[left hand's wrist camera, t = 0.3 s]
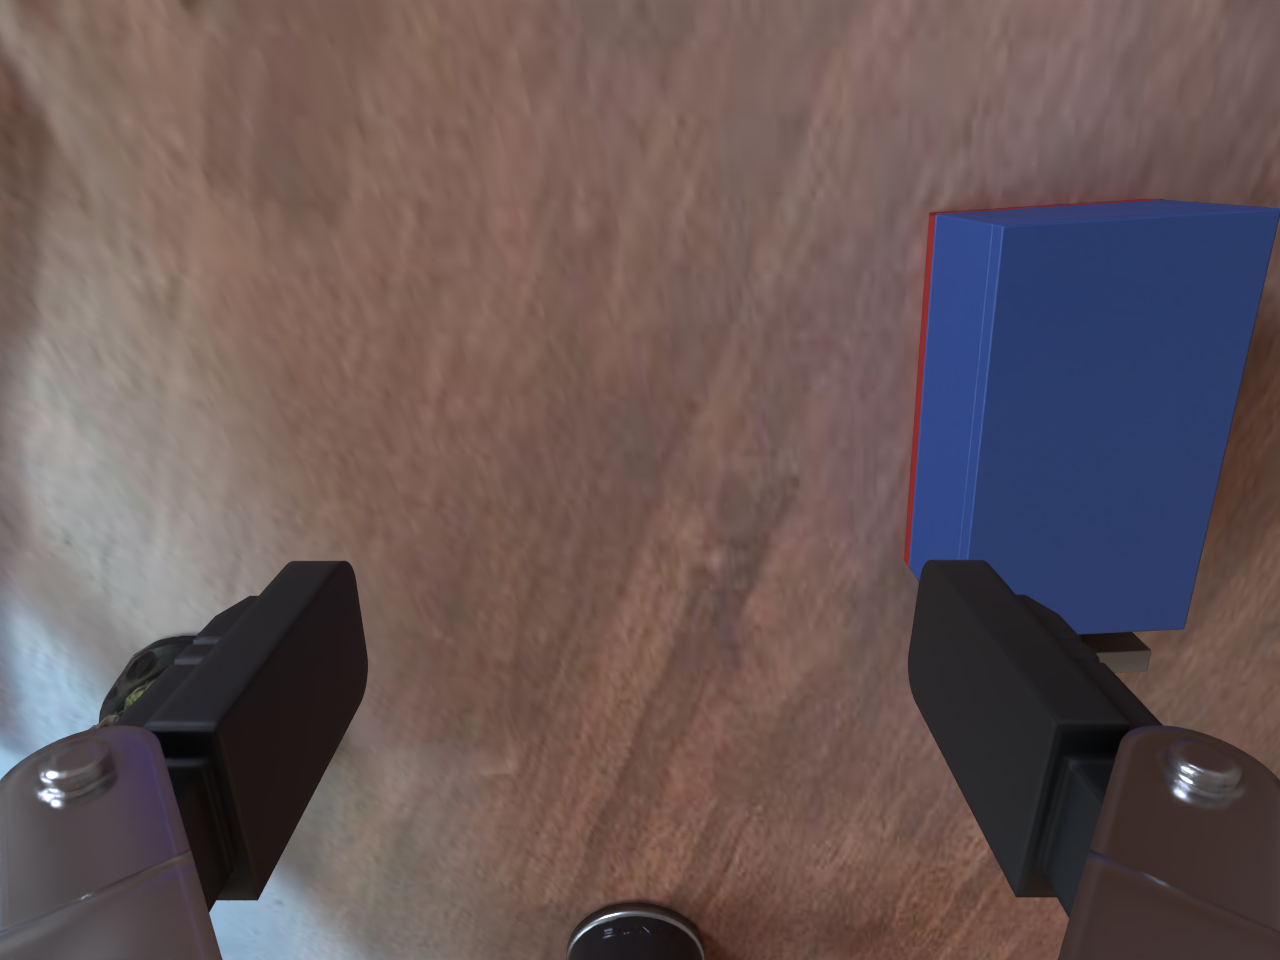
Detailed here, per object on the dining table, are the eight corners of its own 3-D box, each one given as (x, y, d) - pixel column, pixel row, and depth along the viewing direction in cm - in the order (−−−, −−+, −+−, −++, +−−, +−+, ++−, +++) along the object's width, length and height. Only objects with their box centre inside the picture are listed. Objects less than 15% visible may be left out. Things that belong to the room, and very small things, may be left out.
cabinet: (1092, 550, 43) (1185, 630, 36) (903, 560, 43) (957, 641, 36) (1153, 198, 36) (1283, 207, 29) (929, 212, 36) (1002, 225, 29)
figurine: (175, 814, 50) (-4, 1067, 36) (58, 686, 46) (-192, 912, 32) (332, 749, 48) (207, 989, 34) (223, 610, 44) (32, 815, 30)
